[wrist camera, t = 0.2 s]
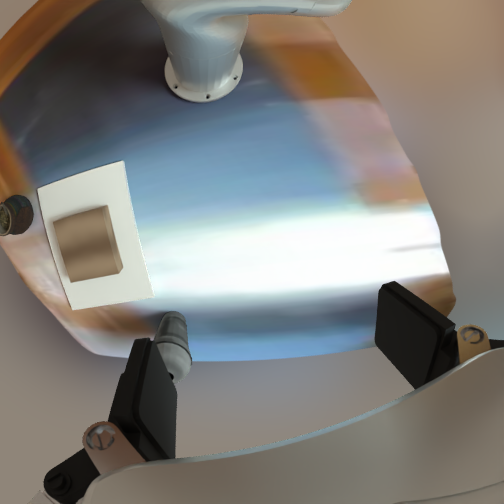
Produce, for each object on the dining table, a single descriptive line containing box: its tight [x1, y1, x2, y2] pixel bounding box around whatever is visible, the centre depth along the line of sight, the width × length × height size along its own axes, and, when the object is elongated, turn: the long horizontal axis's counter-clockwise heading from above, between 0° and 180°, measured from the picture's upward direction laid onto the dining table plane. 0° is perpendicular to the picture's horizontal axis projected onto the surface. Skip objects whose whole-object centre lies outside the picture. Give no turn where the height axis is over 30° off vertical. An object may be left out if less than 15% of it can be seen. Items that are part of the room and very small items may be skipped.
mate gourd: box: [0, 195, 34, 236], centre depth 33 cm, size 7×8×10 cm
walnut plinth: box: [53, 205, 123, 283], centre depth 40 cm, size 11×10×3 cm
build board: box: [37, 161, 155, 310], centre depth 42 cm, size 24×18×1 cm
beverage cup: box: [154, 311, 192, 384], centre depth 40 cm, size 7×7×20 cm
